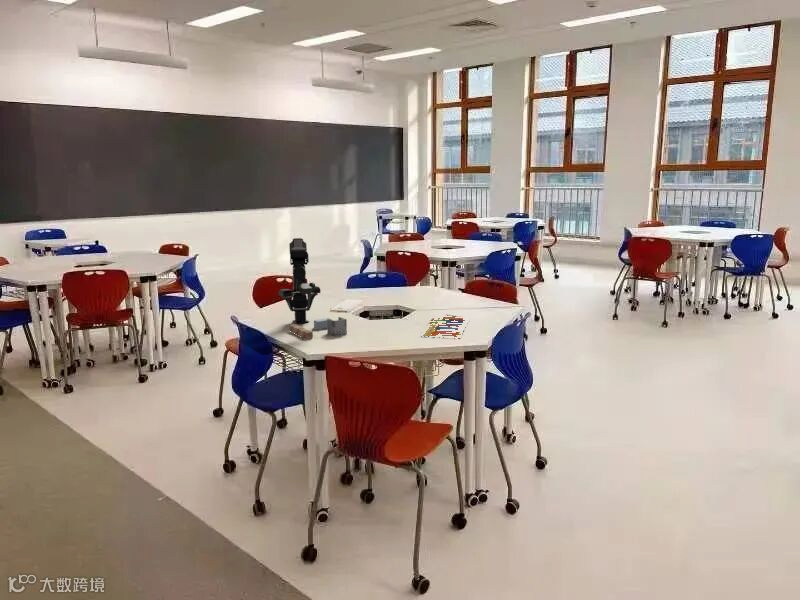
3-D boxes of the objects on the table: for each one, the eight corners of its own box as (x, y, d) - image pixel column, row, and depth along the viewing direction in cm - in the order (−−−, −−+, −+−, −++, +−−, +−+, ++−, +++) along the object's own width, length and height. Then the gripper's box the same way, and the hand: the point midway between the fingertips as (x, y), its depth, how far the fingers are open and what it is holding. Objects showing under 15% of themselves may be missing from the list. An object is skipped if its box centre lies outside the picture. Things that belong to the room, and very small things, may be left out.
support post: (314, 328, 292) (313, 320, 291) (328, 325, 297) (328, 317, 296) (317, 329, 289) (317, 321, 288) (332, 327, 293) (332, 319, 293)
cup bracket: (327, 333, 282) (327, 318, 281) (340, 331, 286) (340, 317, 284) (333, 336, 277) (333, 321, 276) (346, 333, 281) (346, 319, 280)
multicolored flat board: (435, 312, 318) (471, 314, 314) (434, 316, 319) (471, 318, 314) (418, 332, 275) (460, 335, 271) (418, 337, 276) (460, 340, 271)
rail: (289, 332, 286) (289, 325, 285) (295, 331, 287) (295, 324, 287) (306, 340, 271) (306, 332, 270) (312, 339, 273) (312, 331, 272)
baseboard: (366, 302, 356) (346, 301, 359) (366, 297, 356) (346, 296, 358) (351, 313, 327) (330, 312, 329) (351, 308, 326) (330, 307, 329)
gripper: (287, 280, 262) (289, 315, 265) (325, 276, 273) (326, 310, 275) (277, 277, 271) (278, 310, 274) (314, 273, 282) (315, 306, 284)
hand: (300, 309), depth 277 cm, fingers open, 9 cm apart
